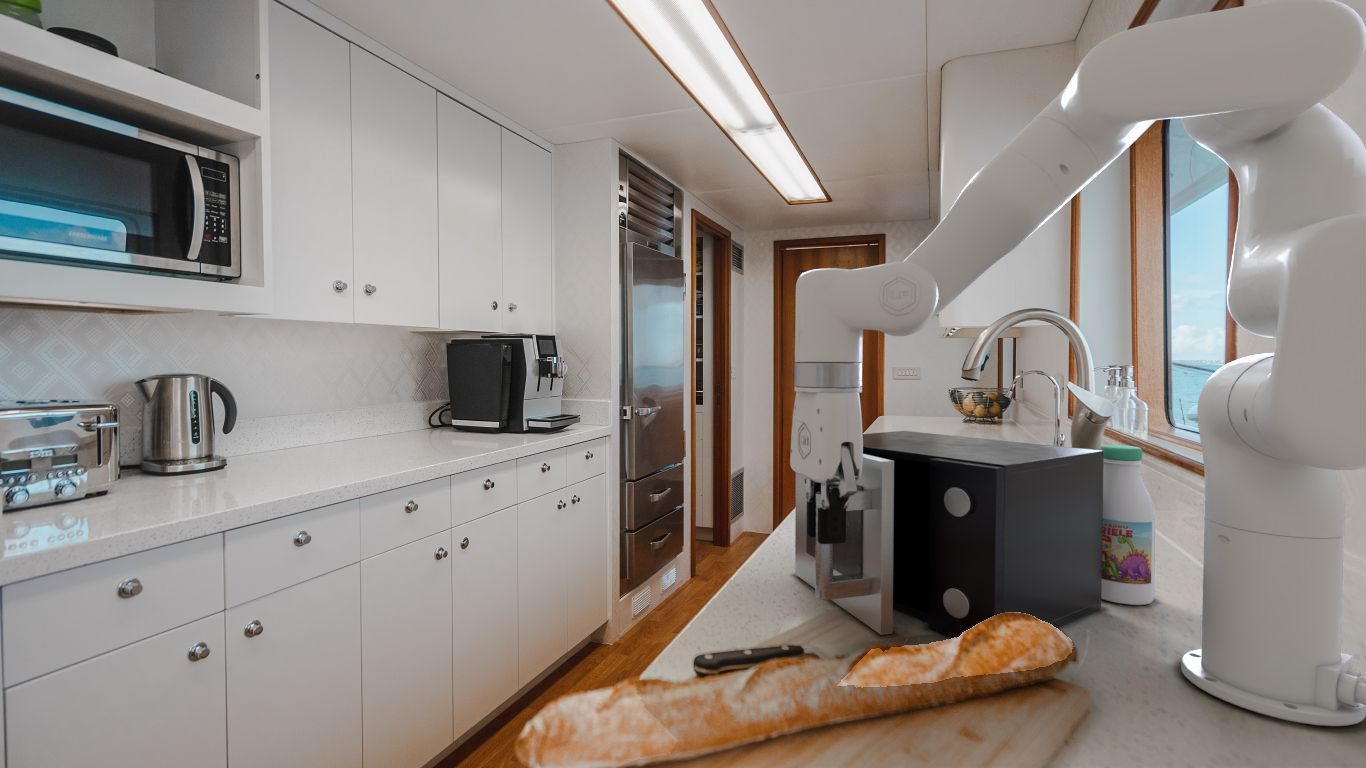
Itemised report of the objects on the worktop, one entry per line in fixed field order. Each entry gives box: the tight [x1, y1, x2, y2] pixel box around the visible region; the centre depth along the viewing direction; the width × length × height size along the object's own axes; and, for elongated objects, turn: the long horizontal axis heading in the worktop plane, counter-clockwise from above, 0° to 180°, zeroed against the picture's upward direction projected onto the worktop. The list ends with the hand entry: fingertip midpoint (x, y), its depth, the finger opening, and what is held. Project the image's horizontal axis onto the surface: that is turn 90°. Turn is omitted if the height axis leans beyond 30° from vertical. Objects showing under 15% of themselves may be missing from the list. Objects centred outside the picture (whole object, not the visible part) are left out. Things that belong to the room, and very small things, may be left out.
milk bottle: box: [1099, 444, 1157, 606], centre depth 83 cm, size 8×8×20 cm
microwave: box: [862, 430, 1104, 639], centre depth 85 cm, size 24×30×20 cm
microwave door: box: [794, 454, 894, 636], centre depth 80 cm, size 8×22×20 cm, turn 16°
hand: (825, 538), depth 72 cm, fingers closed on microwave door, 2 cm apart
